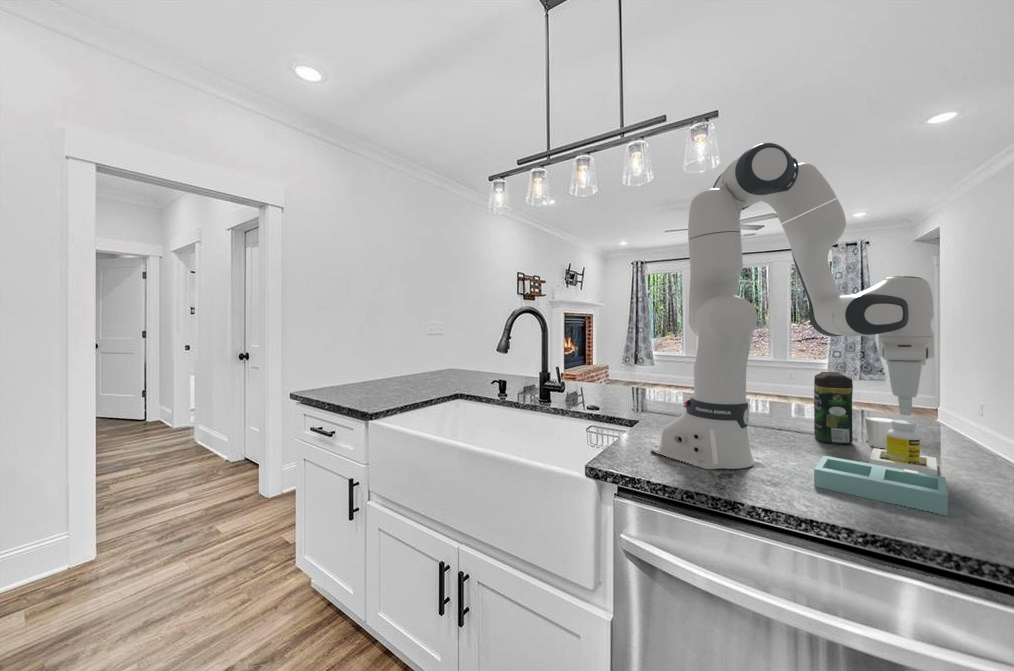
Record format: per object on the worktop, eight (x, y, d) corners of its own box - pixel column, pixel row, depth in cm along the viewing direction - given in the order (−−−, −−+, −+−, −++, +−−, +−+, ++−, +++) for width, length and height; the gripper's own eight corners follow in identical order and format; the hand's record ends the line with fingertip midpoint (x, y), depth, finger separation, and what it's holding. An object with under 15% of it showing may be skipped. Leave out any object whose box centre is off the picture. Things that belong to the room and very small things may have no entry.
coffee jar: (811, 434, 117) (811, 369, 116) (846, 437, 113) (847, 370, 112) (817, 443, 108) (818, 373, 108) (856, 447, 104) (856, 375, 104)
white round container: (908, 451, 101) (909, 423, 101) (876, 449, 102) (876, 422, 102) (888, 442, 108) (889, 416, 107) (858, 441, 109) (859, 415, 109)
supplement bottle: (912, 470, 88) (912, 425, 88) (881, 463, 93) (881, 420, 93) (924, 466, 90) (925, 423, 90) (893, 459, 95) (894, 417, 95)
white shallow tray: (869, 465, 92) (869, 458, 92) (873, 454, 99) (873, 448, 99) (937, 477, 84) (937, 470, 84) (935, 464, 91) (936, 457, 91)
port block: (814, 486, 81) (814, 468, 81) (823, 471, 89) (823, 454, 88) (947, 516, 68) (947, 494, 68) (944, 495, 76) (945, 475, 76)
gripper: (888, 346, 100) (889, 401, 101) (883, 352, 86) (884, 417, 86) (925, 346, 96) (925, 404, 96) (926, 353, 81) (926, 421, 82)
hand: (906, 411), depth 91 cm, fingers open, 8 cm apart
